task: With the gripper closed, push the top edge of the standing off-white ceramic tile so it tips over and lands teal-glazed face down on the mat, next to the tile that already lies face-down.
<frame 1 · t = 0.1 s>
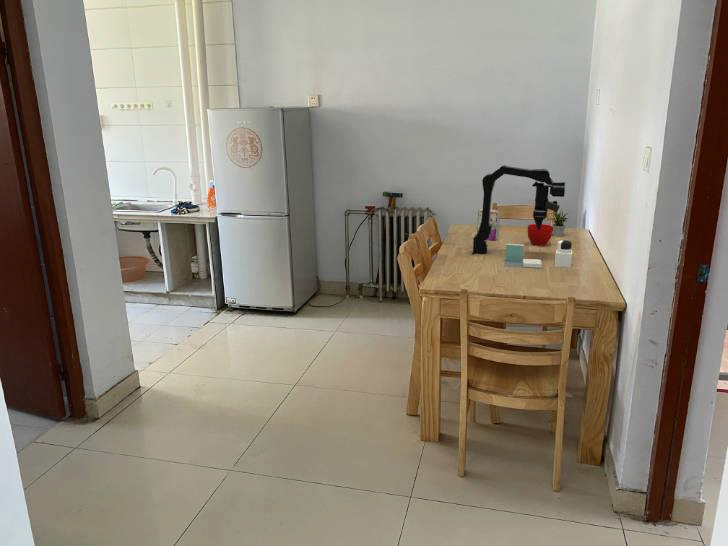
hand: (539, 228, 277), 15 cm above the table, tool pointing down, fingers open, 9 cm apart
flat tile: (531, 265, 264), point 1 cm above the table, touching mat
ceramic cup: (541, 244, 308), on the table
house plant: (555, 236, 327), on the table
tile: (514, 261, 272), point 1 cm above the table, touching mat
candy bar box: (487, 239, 320), on the table
mat: (522, 264, 268), on the table
medicine bottle: (562, 266, 264), on the table
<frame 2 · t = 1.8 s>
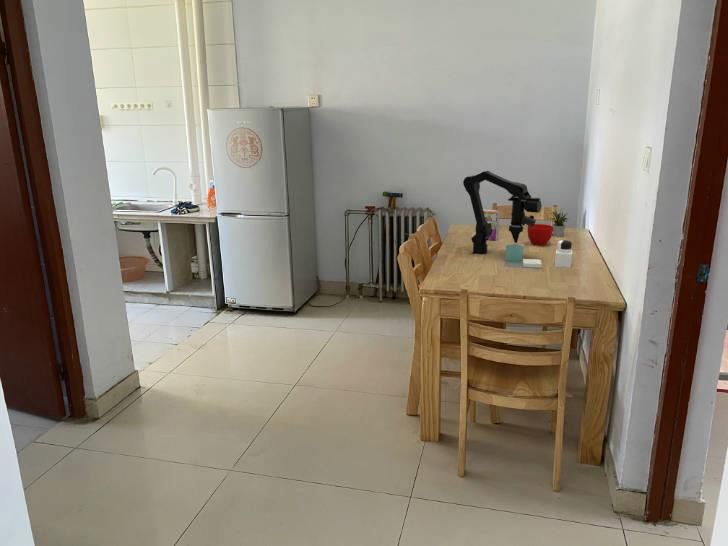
hand: (515, 242, 276), 8 cm above the table, tool pointing down, fingers closed
nothing on the table moved.
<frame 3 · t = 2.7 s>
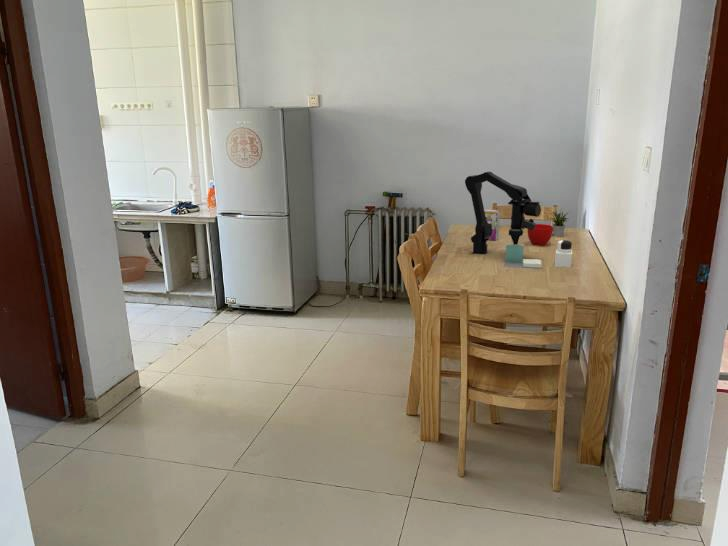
hand: (515, 246, 275), 7 cm above the table, tool pointing down, fingers closed
nothing on the table moved.
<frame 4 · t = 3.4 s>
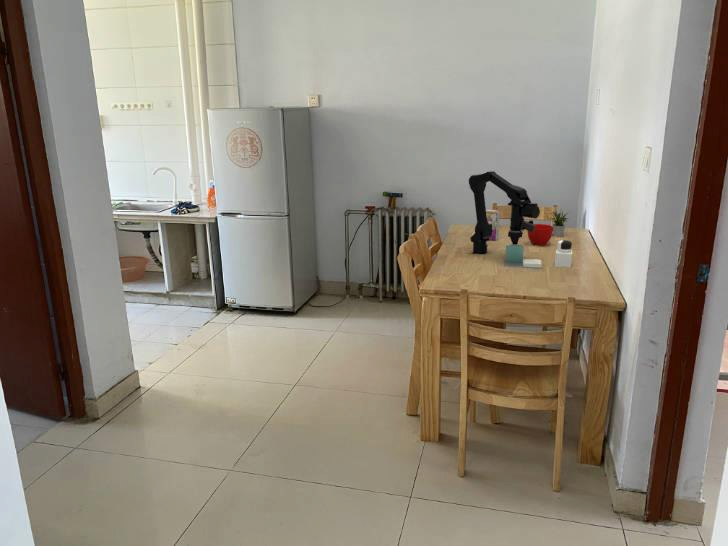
hand: (515, 248, 271), 7 cm above the table, tool pointing down, fingers closed
tile: (514, 260, 272), point 1 cm above the table, tilted 8°, touching mat
everything else where it was.
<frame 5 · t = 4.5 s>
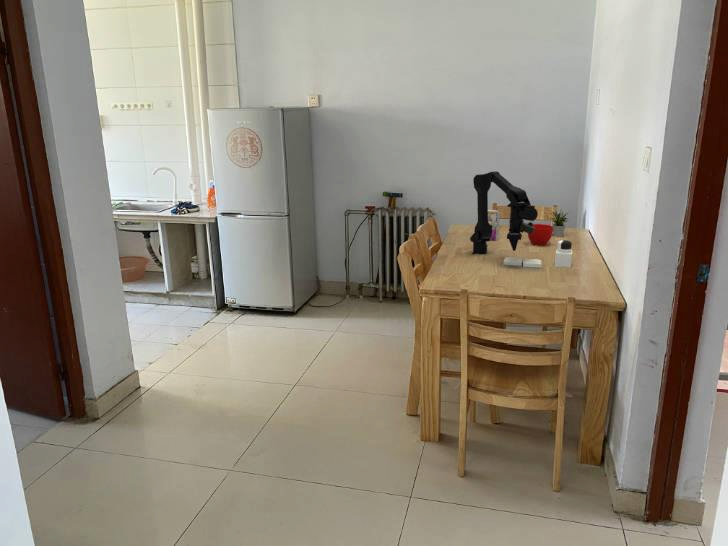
hand: (514, 250, 267), 7 cm above the table, tool pointing down, fingers closed
tile: (513, 259, 270), point 2 cm above the table, tilted 90°, touching mat
everything else where it was.
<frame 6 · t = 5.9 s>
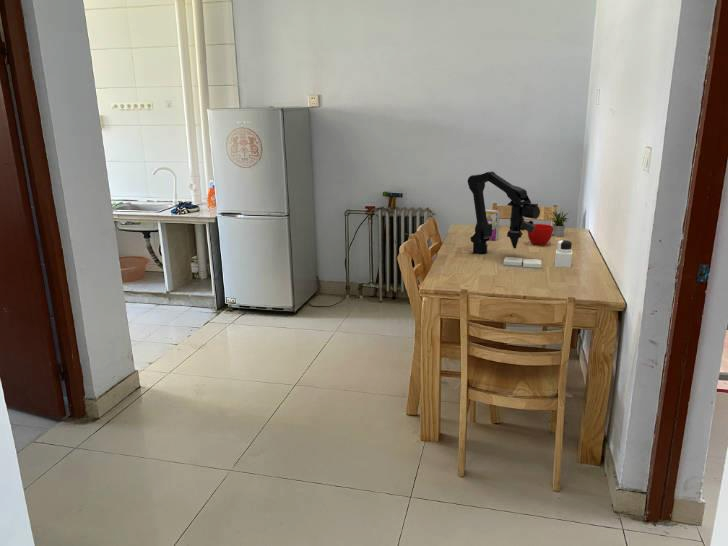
hand: (514, 248, 273), 6 cm above the table, tool pointing down, fingers closed
nothing on the table moved.
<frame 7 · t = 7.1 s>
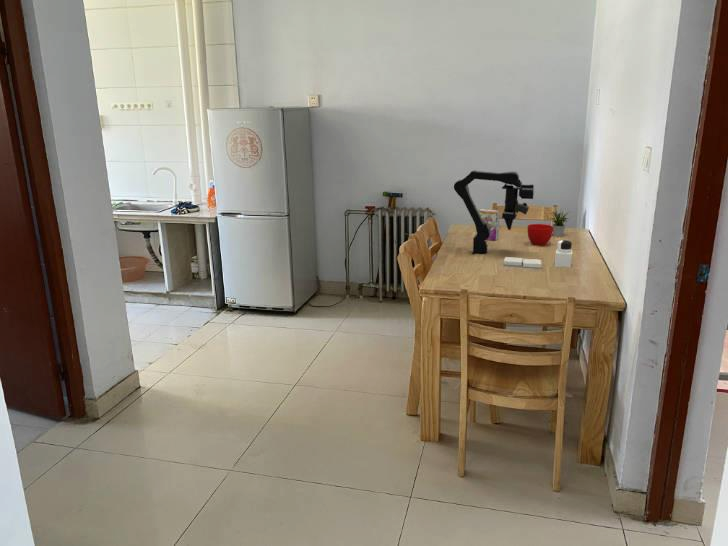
hand: (509, 229, 281), 13 cm above the table, tool pointing down, fingers closed
nothing on the table moved.
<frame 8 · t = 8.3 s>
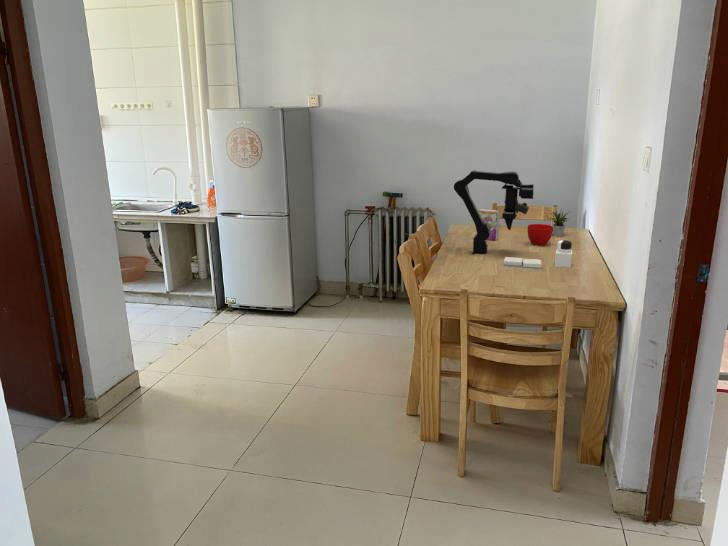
hand: (509, 229, 281), 13 cm above the table, tool pointing down, fingers closed
nothing on the table moved.
at the end: tile tilted 90°; tile inside the target area (3.1 cm from its centre), point 1.6 cm above the table; flat tile moved 0.0 cm from its start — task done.
